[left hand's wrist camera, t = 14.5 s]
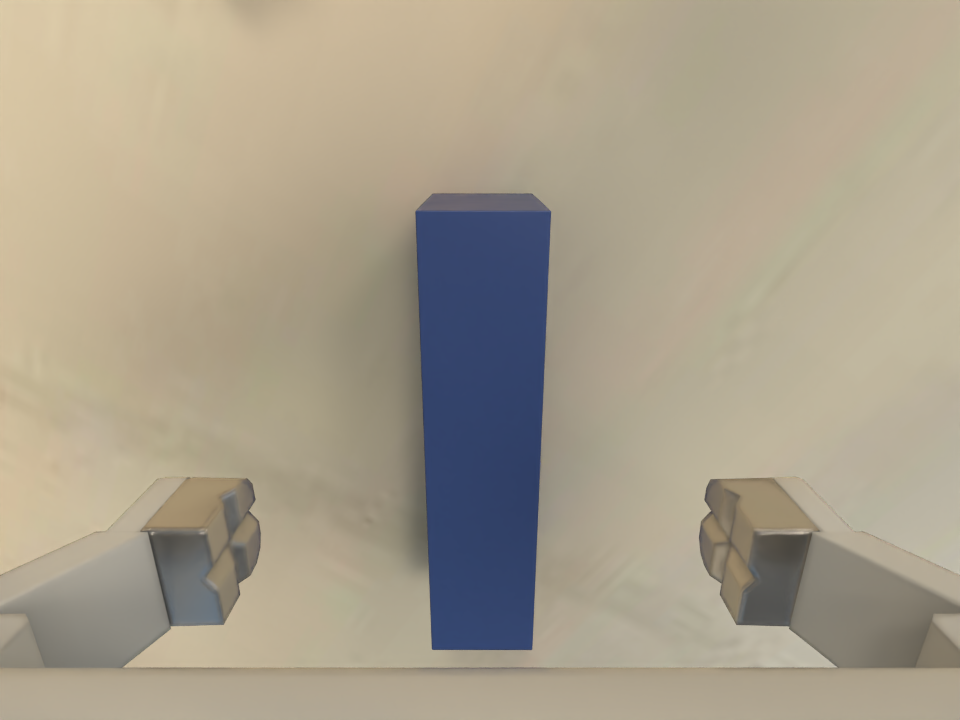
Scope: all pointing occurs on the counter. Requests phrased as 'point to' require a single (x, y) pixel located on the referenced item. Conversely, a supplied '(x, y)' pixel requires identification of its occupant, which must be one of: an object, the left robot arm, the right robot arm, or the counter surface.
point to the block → (482, 411)
